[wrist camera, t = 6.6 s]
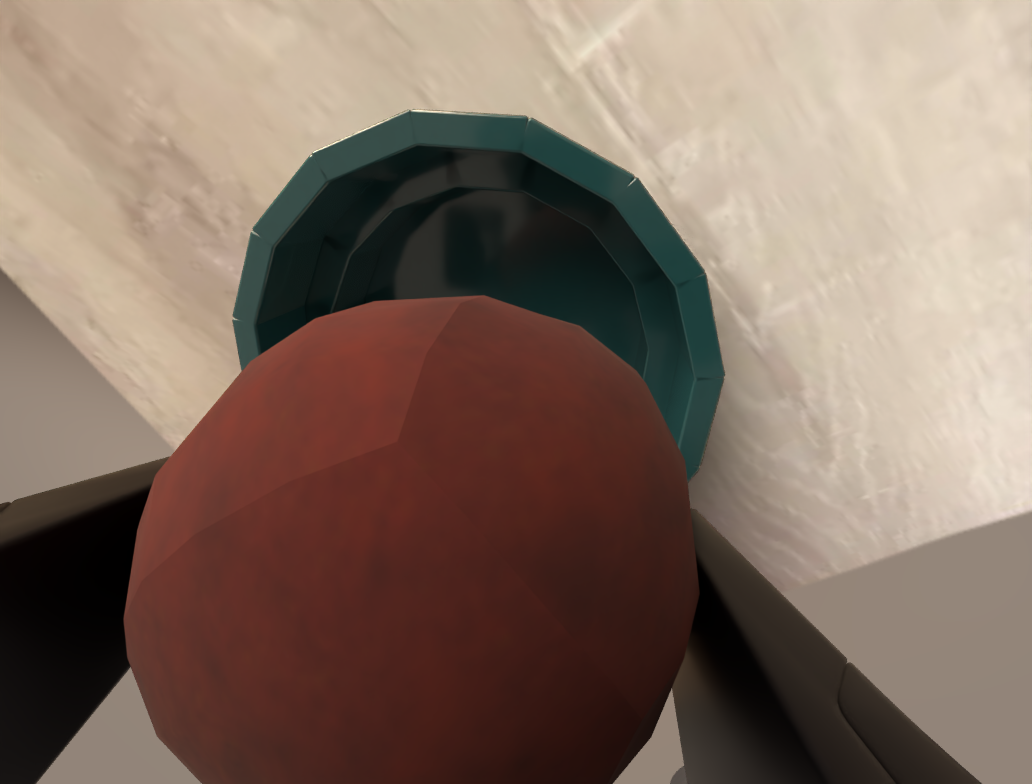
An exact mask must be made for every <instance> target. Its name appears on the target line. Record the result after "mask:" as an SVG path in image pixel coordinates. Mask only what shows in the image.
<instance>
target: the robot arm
mask: <svg viewBox="0 0 1032 784" xmlns="http://www.w3.org/2000/svg"><path fill="white" fill-rule="evenodd" d="M170 457H171V456H170ZM170 457H166V458H163V459H159V460H156V461H152V462H149V463H145V464H141V465H138V466H134V467H131V468H127V469H124V470H120V471H116V472H113V473H109V474H106V475H102V476H99V477H95V478H91V479H88V480H84V481H81V482H77V483H74V484H70V485H67V486H63V487H59V488H56V489H52V490H49V491H45V492H42V493H38V494H34V495H31V496H27V497H24V498H20V499H17V500H14V501H13V502H12V503H10V502H6V503H2V504H0V784H36V783H37V782H38V781H39V779H40V778H41V777H42V776H43V774H44V773H45V772H46V771H47V769H48V768H49V767H50V766H51V764H52V763H53V762H54V761H55V760H56V758H57V757H58V756H59V755H60V753H61V752H62V751H63V750H64V748H65V747H66V746H67V745H68V744H69V742H70V741H71V740H72V738H73V737H74V736H75V735H76V734H77V733H78V731H79V730H80V729H81V728H82V726H83V725H84V724H85V723H86V721H87V720H88V719H89V718H90V717H91V715H92V714H93V713H94V712H95V710H96V709H97V708H98V707H99V705H100V704H101V703H102V702H103V701H104V699H105V698H106V697H107V696H108V694H109V693H110V692H111V690H112V689H113V688H114V687H115V686H116V685H117V683H118V682H119V681H120V680H121V678H122V677H123V676H124V675H125V673H126V672H127V671H128V670H129V668H130V667H131V666H130V663H129V661H128V658H127V648H126V638H125V628H124V614H125V607H126V601H127V594H128V588H129V581H130V575H131V568H132V562H133V555H134V549H135V542H136V536H137V529H138V526H139V523H140V520H141V517H142V514H143V511H144V508H145V505H146V502H147V499H148V496H149V493H150V490H151V487H152V484H153V481H154V478H155V475H156V473H157V472H158V471H159V470H160V469H161V467H162V466H163V465H164V464H165V463H166V461H167V460H168V459H169V458H170ZM690 510H691V519H692V528H693V537H694V546H695V555H696V564H697V573H698V582H699V591H700V594H699V598H698V603H697V607H696V611H695V615H694V619H693V623H692V628H691V632H690V636H689V640H688V644H687V648H686V653H685V657H684V660H683V662H682V665H681V667H680V669H679V672H678V674H677V677H676V679H675V681H674V684H673V686H672V690H673V697H674V703H675V709H676V716H677V722H678V728H679V734H680V741H681V747H682V753H683V760H684V766H685V772H686V778H687V784H981V783H980V782H979V781H978V780H977V779H976V778H975V777H974V776H972V775H971V774H970V773H969V772H968V771H967V770H966V769H964V768H963V767H962V766H961V765H960V764H958V762H957V761H955V760H954V759H953V758H952V757H951V756H950V755H949V754H948V753H946V752H945V751H944V750H943V749H942V748H941V747H940V746H939V745H938V744H936V743H935V742H934V741H933V740H932V739H931V738H930V737H929V736H928V735H927V734H925V733H924V732H923V731H922V730H921V729H920V728H919V727H918V726H917V725H915V724H914V723H913V722H912V721H911V720H910V719H909V718H908V717H907V716H906V715H905V714H904V713H903V712H902V711H901V710H900V709H899V708H898V707H896V706H895V705H894V704H893V703H892V702H891V701H890V700H889V699H888V698H887V697H886V696H885V695H884V694H883V693H882V692H881V691H880V690H879V689H878V688H876V687H875V685H873V684H872V683H871V682H870V681H869V680H868V679H867V678H866V677H865V676H864V675H863V674H862V673H861V672H860V671H859V670H858V669H857V668H856V667H855V666H854V665H853V664H852V663H847V659H846V657H845V656H844V655H843V654H842V653H841V652H840V651H839V650H838V649H837V648H836V647H835V646H834V645H833V644H832V643H831V642H830V641H829V640H828V639H827V638H826V637H825V636H824V635H823V634H822V633H821V632H819V630H818V629H816V627H814V625H812V623H810V622H809V621H808V620H807V619H806V618H805V617H804V616H803V615H802V614H801V613H800V612H799V611H798V610H797V609H796V608H795V607H794V606H793V605H792V604H791V603H790V602H789V601H788V600H787V599H786V598H785V597H784V596H783V595H782V594H781V593H780V592H779V591H778V590H777V589H776V588H775V587H774V586H773V585H772V584H771V583H770V582H769V581H768V580H767V579H766V578H765V577H764V576H763V575H762V574H761V573H760V572H759V571H758V570H757V569H756V568H755V567H754V566H753V565H752V564H751V563H750V562H749V561H748V560H747V559H746V558H745V557H744V556H743V555H742V554H741V553H740V552H739V551H738V550H737V549H736V548H735V547H734V546H733V545H732V544H731V543H730V542H729V541H728V540H727V539H726V538H725V537H723V536H722V535H721V534H720V533H719V532H718V531H717V530H716V529H715V528H714V527H713V526H712V525H711V524H710V523H709V522H708V521H707V520H706V519H705V518H704V517H703V516H702V515H701V514H700V513H699V512H698V511H697V510H695V509H692V508H690ZM846 663H847V664H846Z"/></svg>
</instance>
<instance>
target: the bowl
mask: <svg viewBox="0 0 1032 784" xmlns="http://www.w3.org/2000/svg"><path fill="white" fill-rule="evenodd" d="M481 295H485V296H488V297H491V298H494V299H497V300H499V301H502V302H505V303H508V304H511V305H514V306H517V307H520V308H523V309H526V310H529V311H532V312H535V313H538V314H541V315H545V316H548V317H551V318H555V319H558V320H562V321H565V322H568V323H572V324H575V325H579V326H581V327H582V328H583V329H585V330H586V331H587V332H588V333H590V334H591V335H592V336H593V337H595V338H596V339H597V340H598V341H600V342H601V343H602V344H603V345H605V346H606V347H607V348H608V349H610V350H611V351H612V352H613V353H615V354H616V355H617V356H619V357H620V358H621V359H622V360H624V361H625V362H626V363H627V364H629V365H630V366H631V367H632V368H634V369H635V370H636V371H637V372H638V374H639V375H640V376H641V378H642V379H643V380H644V382H645V383H646V384H647V386H648V388H649V390H650V392H651V394H652V396H653V398H654V400H655V402H656V404H657V406H658V408H659V410H660V412H661V414H662V416H663V418H664V420H665V422H666V424H667V426H668V428H669V430H670V432H671V434H672V436H673V438H674V440H675V442H676V444H677V446H678V448H679V450H680V452H681V454H682V456H683V458H684V459H685V465H686V474H687V483H688V482H689V481H690V480H691V478H692V477H693V476H694V475H695V474H696V473H697V471H698V470H699V469H700V466H701V464H702V460H703V457H704V453H705V449H706V446H707V442H708V438H709V434H710V431H711V427H712V423H713V420H714V416H715V412H716V408H717V405H718V401H719V397H720V394H721V390H722V386H723V382H724V376H725V371H724V366H723V360H722V355H721V350H720V344H719V339H718V334H717V328H716V323H715V317H714V312H713V307H712V301H711V296H710V291H709V285H708V280H707V275H706V273H705V270H704V269H703V267H702V266H701V264H700V263H699V262H698V260H697V259H696V257H695V256H694V255H693V253H692V252H691V251H690V249H689V248H688V246H687V245H686V244H685V242H684V241H683V239H682V238H681V237H680V235H679V234H678V233H677V231H676V230H675V228H674V227H673V226H672V224H671V223H670V221H669V220H668V219H667V217H666V216H665V214H664V213H663V212H662V210H661V209H660V208H659V206H658V205H657V203H656V202H655V201H654V199H653V198H652V196H651V195H650V194H649V192H648V191H647V190H646V188H645V187H644V185H643V184H642V183H641V181H640V180H639V178H637V177H635V176H634V175H633V174H632V173H630V172H629V171H627V170H625V169H623V168H621V167H620V166H618V165H616V164H614V163H612V162H611V161H609V160H607V159H605V158H603V157H602V156H600V155H598V154H596V153H595V152H593V151H591V150H589V149H587V148H586V147H584V146H582V145H580V144H578V143H577V142H575V141H573V140H571V139H569V138H568V137H566V136H564V135H562V134H561V133H559V132H557V131H555V130H553V129H552V128H550V127H548V126H546V125H544V124H543V123H541V122H539V121H537V120H535V119H534V118H529V117H527V116H523V115H507V114H490V113H473V112H456V111H440V110H423V109H412V110H406V111H404V112H402V113H399V114H397V115H395V116H393V117H390V118H388V119H386V120H383V121H381V122H379V123H377V124H374V125H372V126H370V127H368V128H365V129H363V130H361V131H359V132H356V133H354V134H352V135H350V136H347V137H345V138H343V139H341V140H338V141H336V142H334V143H332V144H329V145H327V146H325V147H323V148H320V149H318V150H316V151H314V152H313V153H312V154H311V155H310V156H309V157H308V158H307V160H306V161H305V162H304V163H303V165H302V166H301V167H300V169H299V170H298V171H297V172H296V174H295V175H294V176H293V177H292V179H291V180H290V181H289V182H288V184H287V185H286V186H285V188H284V189H283V190H282V191H281V193H280V194H279V195H278V196H277V198H276V199H275V200H274V201H273V203H272V204H271V205H270V207H269V208H268V209H267V210H266V212H265V213H264V214H263V215H262V217H261V218H260V219H259V221H258V222H257V223H256V224H255V226H254V227H253V230H252V232H251V234H250V238H249V243H248V247H247V252H246V257H245V261H244V266H243V270H242V275H241V280H240V284H239V289H238V294H237V298H236V303H235V307H234V312H233V317H234V318H233V320H232V321H233V326H234V332H235V337H236V343H237V348H238V354H239V359H240V365H241V370H242V371H243V370H244V368H245V367H246V366H247V365H248V364H249V363H250V361H252V360H253V359H255V358H256V357H258V356H259V355H261V354H262V353H264V352H265V351H267V350H268V349H270V348H271V347H273V346H274V345H276V344H277V343H279V342H280V341H282V340H283V339H285V338H286V337H288V336H289V335H291V334H292V333H294V332H295V331H297V330H299V329H300V328H302V327H303V326H305V325H306V324H308V323H309V322H311V321H312V320H314V319H315V318H319V317H322V316H325V315H329V314H332V313H336V312H339V311H343V310H346V309H349V308H353V307H356V306H360V305H363V304H367V303H370V302H373V301H385V300H404V299H423V298H442V297H462V296H481Z"/></svg>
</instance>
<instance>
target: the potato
mask: <svg viewBox="0 0 1032 784" xmlns="http://www.w3.org/2000/svg"><path fill="white" fill-rule="evenodd" d="M699 594H700V591H699V582H698V573H697V564H696V555H695V546H694V537H693V528H692V519H691V510H690V501H689V492H688V483H687V474H686V465H685V459H684V458H683V456H682V454H681V452H680V450H679V448H678V446H677V444H676V442H675V440H674V438H673V436H672V434H671V432H670V430H669V428H668V426H667V424H666V422H665V420H664V418H663V416H662V414H661V412H660V410H659V408H658V406H657V404H656V402H655V400H654V398H653V396H652V394H651V392H650V390H649V388H648V386H647V384H646V383H645V382H644V380H643V379H642V378H641V376H640V375H639V374H638V372H637V371H636V370H635V369H634V368H632V367H631V366H630V365H629V364H627V363H626V362H625V361H624V360H622V359H621V358H620V357H619V356H617V355H616V354H615V353H613V352H612V351H611V350H610V349H608V348H607V347H606V346H605V345H603V344H602V343H601V342H600V341H598V340H597V339H596V338H595V337H593V336H592V335H591V334H590V333H588V332H587V331H586V330H585V329H583V328H582V327H581V326H579V325H575V324H572V323H568V322H565V321H562V320H558V319H555V318H551V317H548V316H545V315H541V314H538V313H535V312H532V311H529V310H526V309H523V308H520V307H517V306H514V305H511V304H508V303H505V302H502V301H499V300H497V299H494V298H491V297H488V296H485V295H481V296H462V297H442V298H423V299H404V300H385V301H373V302H370V303H367V304H363V305H360V306H356V307H353V308H349V309H346V310H343V311H339V312H336V313H332V314H329V315H325V316H322V317H319V318H315V319H314V320H312V321H311V322H309V323H308V324H306V325H305V326H303V327H302V328H300V329H299V330H297V331H295V332H294V333H292V334H291V335H289V336H288V337H286V338H285V339H283V340H282V341H280V342H279V343H277V344H276V345H274V346H273V347H271V348H270V349H268V350H267V351H265V352H264V353H262V354H261V355H259V356H258V357H256V358H255V359H253V360H252V361H250V363H249V364H248V365H247V366H246V367H245V368H244V370H243V371H242V372H241V373H240V374H239V376H238V377H237V378H236V379H235V380H234V382H233V383H232V384H231V385H230V386H229V388H228V389H227V390H226V391H225V392H224V394H223V395H222V396H221V397H220V398H219V399H218V401H217V402H216V403H215V404H214V405H213V407H212V408H211V409H210V410H209V411H208V413H207V414H206V415H205V416H204V417H203V419H202V420H201V421H200V422H199V423H198V425H197V426H196V427H195V428H194V429H193V430H192V432H191V433H190V434H189V435H188V436H187V438H186V439H185V440H184V441H183V442H182V444H181V445H180V446H179V447H178V448H177V450H176V451H175V452H174V453H173V454H172V456H171V457H170V458H169V459H168V460H167V461H166V463H165V464H164V465H163V466H162V467H161V469H160V470H159V471H158V472H157V473H156V475H155V478H154V481H153V484H152V487H151V490H150V493H149V496H148V499H147V502H146V505H145V508H144V511H143V514H142V517H141V520H140V523H139V526H138V529H137V536H136V542H135V549H134V555H133V562H132V568H131V575H130V581H129V588H128V594H127V601H126V607H125V614H124V628H125V638H126V648H127V658H128V661H129V663H130V666H131V669H132V671H133V674H134V677H135V679H136V682H137V685H138V687H139V690H140V692H141V695H142V698H143V700H144V703H145V706H146V708H147V711H148V714H149V716H150V719H151V722H152V724H153V727H154V729H155V732H156V735H157V737H158V738H159V739H160V740H161V741H162V742H163V743H164V744H165V745H166V746H167V747H168V748H169V749H170V751H172V753H173V754H174V755H175V756H176V757H177V758H178V759H179V760H180V761H181V762H182V763H183V764H184V765H185V766H186V767H187V768H188V769H189V771H190V772H191V773H192V774H193V775H194V776H195V777H196V778H197V779H198V780H199V781H200V782H201V783H202V784H613V782H614V781H615V780H616V779H617V778H618V777H619V775H620V774H621V773H622V771H623V770H624V769H625V768H626V767H627V766H628V764H629V763H630V762H631V761H632V759H633V758H634V757H635V756H636V755H637V754H638V752H639V751H640V750H641V749H642V747H643V746H644V745H645V744H646V743H647V741H648V740H649V739H650V738H651V736H652V734H653V731H654V729H655V727H656V724H657V722H658V720H659V717H660V715H661V712H662V710H663V707H664V705H665V702H666V700H667V698H668V695H669V693H670V691H671V688H672V686H673V684H674V681H675V679H676V677H677V674H678V672H679V669H680V667H681V665H682V662H683V660H684V657H685V653H686V648H687V644H688V640H689V636H690V632H691V628H692V623H693V619H694V615H695V611H696V607H697V603H698V598H699Z"/></svg>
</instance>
